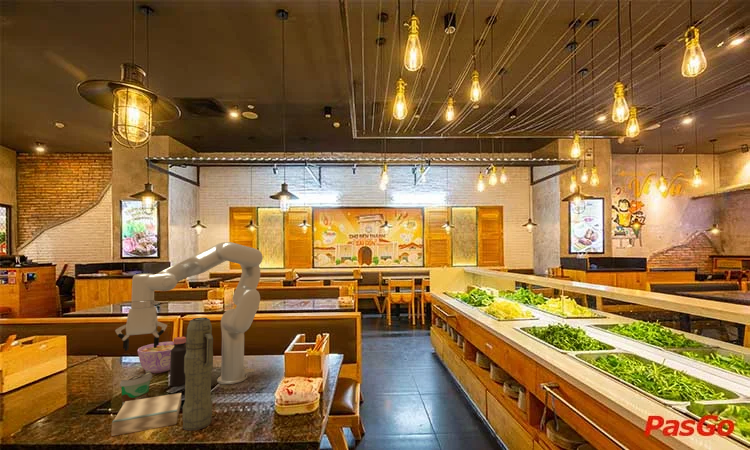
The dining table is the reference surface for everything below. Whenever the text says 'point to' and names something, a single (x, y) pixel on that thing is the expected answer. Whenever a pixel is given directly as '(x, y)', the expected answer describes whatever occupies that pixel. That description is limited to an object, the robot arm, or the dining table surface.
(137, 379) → the food container
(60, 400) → the dining table surface
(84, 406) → the dining table surface
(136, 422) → the dock
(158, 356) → the bowl of food
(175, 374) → the bottle
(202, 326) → the thermos
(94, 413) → the dining table surface
